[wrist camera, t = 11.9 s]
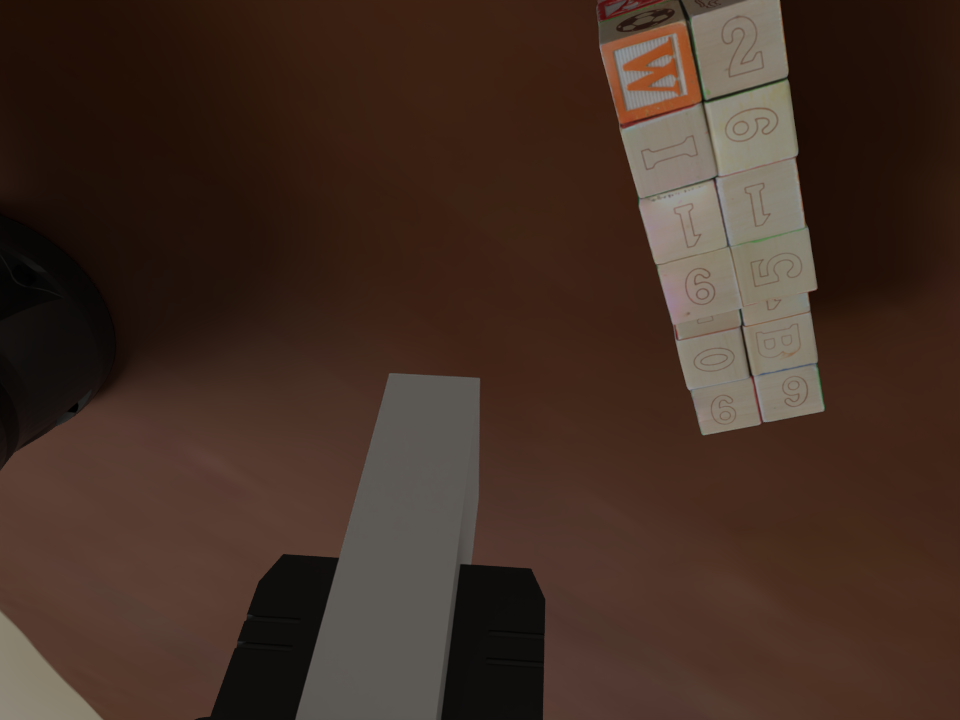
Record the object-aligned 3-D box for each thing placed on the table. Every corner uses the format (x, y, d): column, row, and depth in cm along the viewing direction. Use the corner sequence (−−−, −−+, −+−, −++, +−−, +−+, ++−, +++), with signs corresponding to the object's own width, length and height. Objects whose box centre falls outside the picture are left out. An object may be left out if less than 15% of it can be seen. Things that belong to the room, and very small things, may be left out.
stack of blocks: (786, 313, 51) (841, 455, 41) (678, 337, 52) (705, 479, 42) (726, -76, 39) (781, -12, 29) (589, -31, 41) (598, 45, 31)
